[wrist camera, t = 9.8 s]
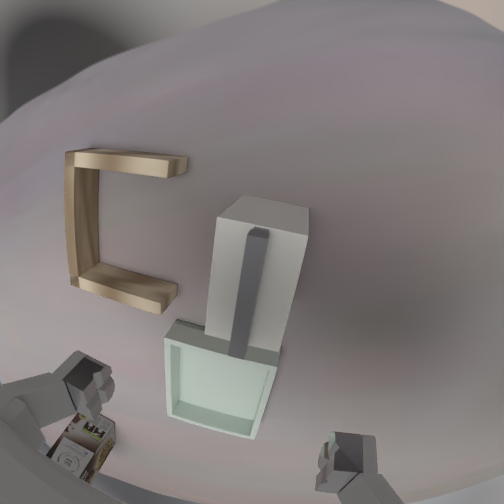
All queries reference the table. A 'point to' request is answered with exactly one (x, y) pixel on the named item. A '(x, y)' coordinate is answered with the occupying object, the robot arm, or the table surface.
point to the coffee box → (84, 446)
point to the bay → (86, 226)
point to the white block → (255, 272)
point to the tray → (216, 381)
